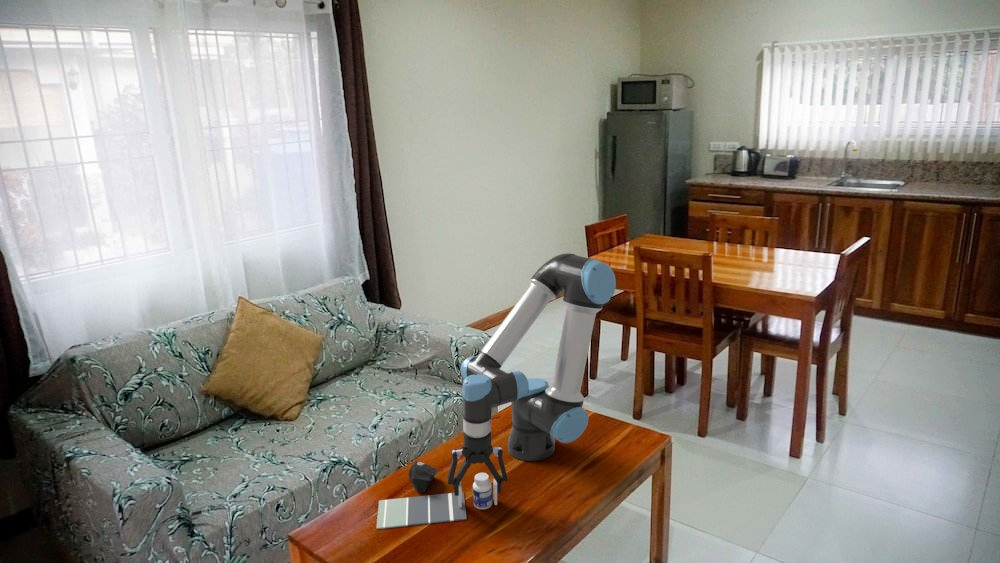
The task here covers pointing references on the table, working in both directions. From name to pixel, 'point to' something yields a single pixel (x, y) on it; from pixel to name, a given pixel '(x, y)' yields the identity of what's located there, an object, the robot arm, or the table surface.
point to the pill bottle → (482, 491)
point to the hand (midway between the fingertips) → (477, 503)
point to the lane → (420, 510)
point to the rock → (421, 475)
